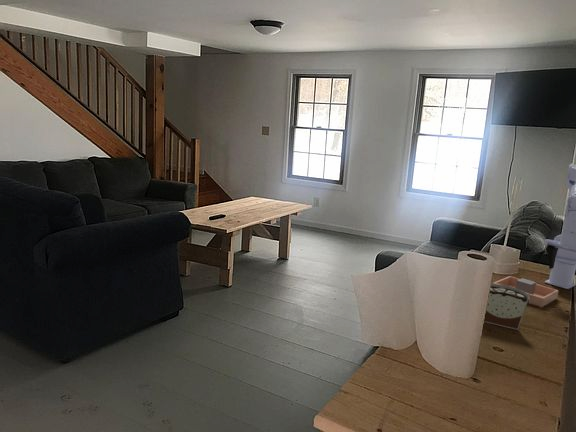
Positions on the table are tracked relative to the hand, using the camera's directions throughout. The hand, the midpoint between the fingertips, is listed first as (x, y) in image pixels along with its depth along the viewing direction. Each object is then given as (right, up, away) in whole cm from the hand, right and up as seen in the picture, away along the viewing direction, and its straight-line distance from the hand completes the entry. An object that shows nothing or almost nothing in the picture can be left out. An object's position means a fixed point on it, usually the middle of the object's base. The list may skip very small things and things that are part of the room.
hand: (563, 271), depth 156 cm
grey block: (-12, -8, +2) cm, 14 cm away
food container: (-31, -12, -23) cm, 40 cm away
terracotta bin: (-12, -8, +2) cm, 15 cm away
